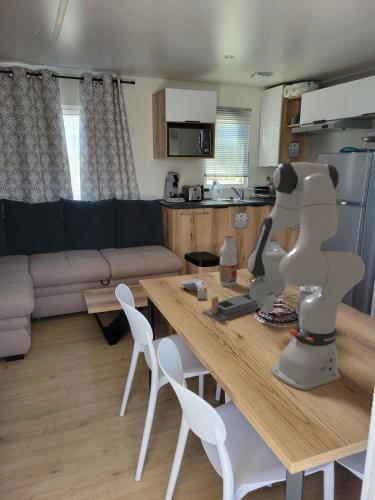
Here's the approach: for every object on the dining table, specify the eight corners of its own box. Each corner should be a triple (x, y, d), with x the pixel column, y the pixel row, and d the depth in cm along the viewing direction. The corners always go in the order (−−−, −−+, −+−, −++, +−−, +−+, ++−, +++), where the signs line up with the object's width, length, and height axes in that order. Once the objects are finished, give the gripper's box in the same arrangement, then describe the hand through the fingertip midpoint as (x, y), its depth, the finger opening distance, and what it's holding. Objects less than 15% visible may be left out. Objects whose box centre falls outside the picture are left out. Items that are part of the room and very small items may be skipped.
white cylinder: (267, 314, 162) (268, 293, 160) (260, 312, 166) (261, 291, 163) (273, 312, 165) (274, 291, 162) (266, 309, 168) (267, 289, 166)
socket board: (220, 321, 156) (220, 301, 153) (202, 312, 165) (202, 294, 163) (272, 304, 175) (273, 286, 172) (253, 297, 184) (254, 280, 182)
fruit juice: (219, 281, 209) (220, 233, 203) (236, 281, 208) (237, 233, 202) (219, 286, 200) (220, 236, 194) (236, 287, 199) (237, 236, 193)
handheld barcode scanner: (179, 286, 202) (179, 274, 200) (199, 284, 205) (199, 272, 203) (191, 301, 180) (191, 287, 178) (213, 298, 183) (214, 285, 181)
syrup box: (312, 324, 153) (315, 291, 149) (298, 322, 154) (300, 290, 151) (311, 318, 158) (313, 286, 155) (296, 317, 159) (299, 286, 156)
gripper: (257, 281, 153) (256, 312, 156) (288, 272, 164) (287, 301, 168) (246, 278, 158) (245, 307, 161) (277, 269, 169) (276, 297, 173)
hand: (267, 304), depth 164 cm, fingers open, 8 cm apart
